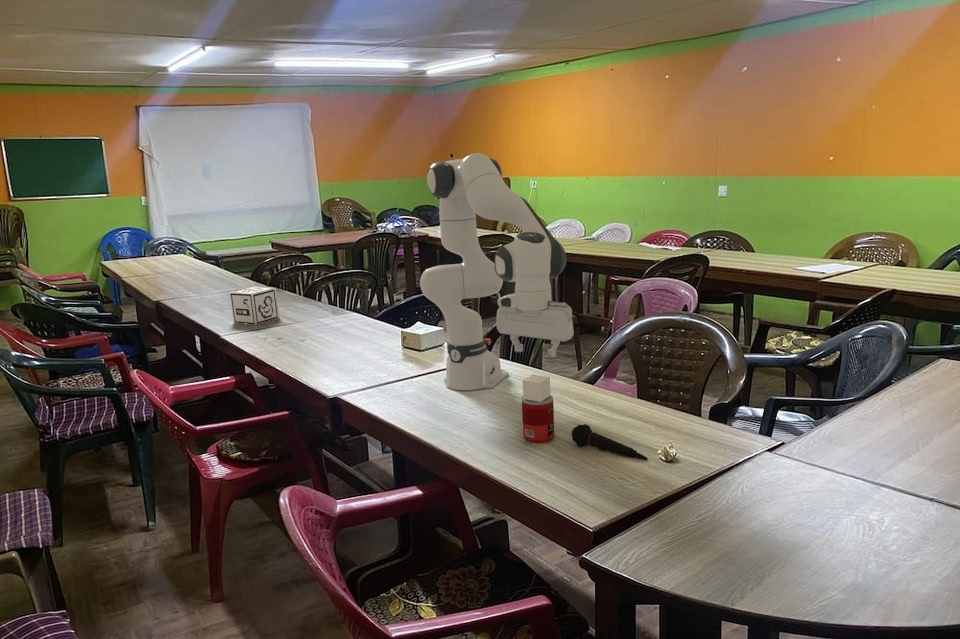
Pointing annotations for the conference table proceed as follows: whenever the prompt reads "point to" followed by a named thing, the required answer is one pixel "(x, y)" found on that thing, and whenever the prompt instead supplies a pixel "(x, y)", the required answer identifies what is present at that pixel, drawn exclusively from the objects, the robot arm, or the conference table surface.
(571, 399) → the conference table surface
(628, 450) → the microphone
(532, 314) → the robot arm
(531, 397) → the cream cube
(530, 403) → the canned food
